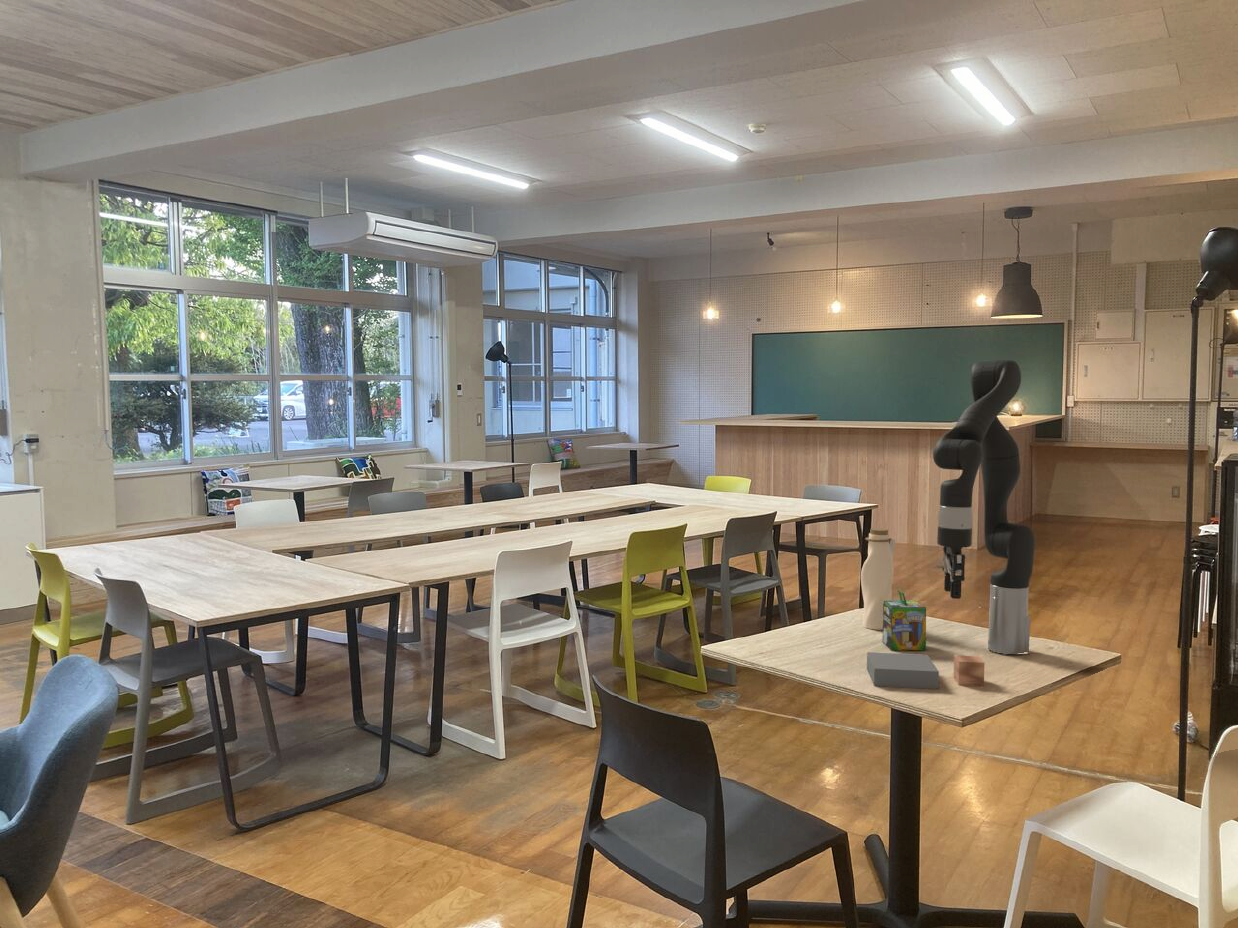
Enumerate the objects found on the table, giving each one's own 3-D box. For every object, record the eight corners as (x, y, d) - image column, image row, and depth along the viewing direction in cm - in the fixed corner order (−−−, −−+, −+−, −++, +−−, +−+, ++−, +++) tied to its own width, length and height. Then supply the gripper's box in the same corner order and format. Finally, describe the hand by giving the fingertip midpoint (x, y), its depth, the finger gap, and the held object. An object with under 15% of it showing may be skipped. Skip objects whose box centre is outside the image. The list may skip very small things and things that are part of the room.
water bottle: (870, 620, 278) (872, 525, 276) (899, 625, 272) (902, 528, 270) (854, 626, 270) (857, 529, 268) (884, 631, 264) (887, 532, 262)
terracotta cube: (978, 679, 220) (979, 656, 220) (983, 686, 215) (984, 662, 214) (953, 678, 221) (954, 654, 220) (958, 685, 215) (959, 661, 215)
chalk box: (926, 651, 244) (928, 594, 243) (890, 651, 244) (892, 594, 243) (915, 642, 253) (917, 587, 252) (881, 641, 253) (882, 587, 252)
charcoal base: (927, 671, 226) (927, 654, 225) (938, 688, 212) (938, 671, 212) (866, 668, 228) (867, 652, 227) (873, 685, 214) (874, 668, 214)
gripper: (978, 530, 211) (975, 601, 212) (966, 522, 225) (963, 589, 226) (943, 528, 213) (940, 600, 214) (933, 521, 227) (930, 588, 228)
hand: (952, 594), depth 220 cm, fingers open, 8 cm apart
